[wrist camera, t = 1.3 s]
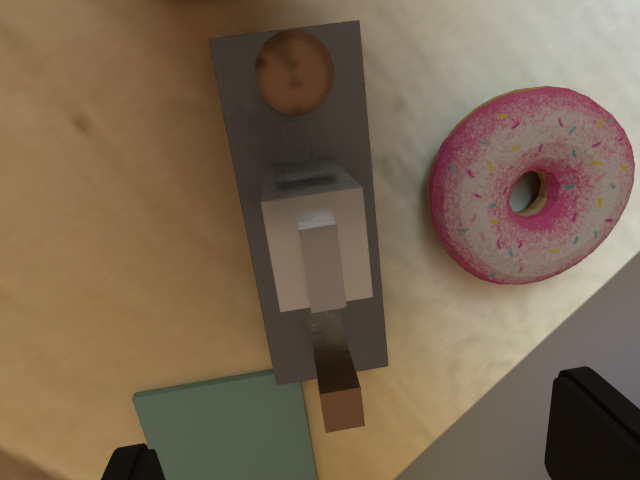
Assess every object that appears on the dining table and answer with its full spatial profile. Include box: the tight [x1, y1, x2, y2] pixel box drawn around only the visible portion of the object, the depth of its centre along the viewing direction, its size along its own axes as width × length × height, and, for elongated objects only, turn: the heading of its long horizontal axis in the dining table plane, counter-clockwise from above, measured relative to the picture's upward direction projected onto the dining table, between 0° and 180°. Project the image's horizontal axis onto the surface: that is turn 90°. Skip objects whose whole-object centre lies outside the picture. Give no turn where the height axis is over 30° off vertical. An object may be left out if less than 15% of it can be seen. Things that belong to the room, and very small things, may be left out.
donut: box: [427, 86, 635, 284], centre depth 27 cm, size 14×13×5 cm
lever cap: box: [261, 173, 373, 313], centre depth 22 cm, size 6×5×6 cm
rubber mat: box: [132, 370, 318, 480], centre depth 34 cm, size 13×13×1 cm
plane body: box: [209, 20, 388, 433], centre depth 24 cm, size 22×8×10 cm, turn 7°
